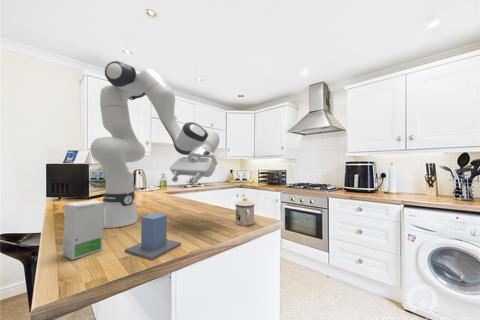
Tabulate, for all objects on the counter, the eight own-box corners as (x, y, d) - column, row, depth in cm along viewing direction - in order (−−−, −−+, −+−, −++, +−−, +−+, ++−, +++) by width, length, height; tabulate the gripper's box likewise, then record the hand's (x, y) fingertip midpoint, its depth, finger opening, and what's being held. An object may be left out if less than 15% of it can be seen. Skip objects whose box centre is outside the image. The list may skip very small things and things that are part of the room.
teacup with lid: (233, 220, 98) (233, 196, 98) (251, 219, 100) (251, 196, 100) (238, 228, 86) (238, 201, 86) (258, 227, 88) (258, 200, 88)
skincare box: (71, 261, 57) (72, 206, 57) (61, 255, 60) (62, 203, 60) (103, 250, 64) (104, 201, 64) (93, 245, 67) (94, 199, 67)
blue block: (141, 247, 64) (141, 216, 64) (154, 241, 69) (155, 213, 69) (153, 250, 62) (153, 219, 62) (166, 244, 67) (166, 215, 67)
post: (124, 252, 62) (125, 227, 63) (155, 238, 73) (156, 217, 73) (152, 260, 57) (152, 233, 57) (181, 245, 68) (181, 222, 68)
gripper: (177, 152, 90) (159, 174, 81) (215, 152, 81) (199, 178, 72) (183, 162, 94) (167, 184, 85) (220, 163, 85) (206, 189, 76)
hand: (182, 181), depth 79 cm, fingers open, 8 cm apart
